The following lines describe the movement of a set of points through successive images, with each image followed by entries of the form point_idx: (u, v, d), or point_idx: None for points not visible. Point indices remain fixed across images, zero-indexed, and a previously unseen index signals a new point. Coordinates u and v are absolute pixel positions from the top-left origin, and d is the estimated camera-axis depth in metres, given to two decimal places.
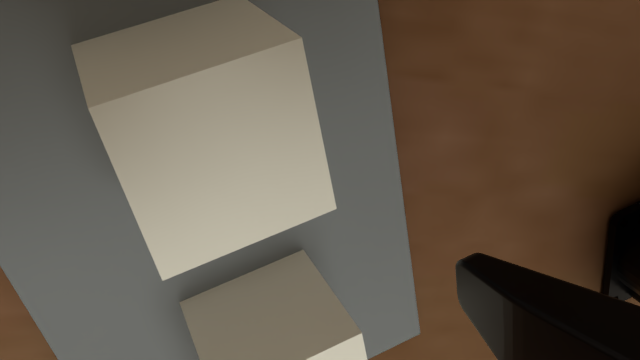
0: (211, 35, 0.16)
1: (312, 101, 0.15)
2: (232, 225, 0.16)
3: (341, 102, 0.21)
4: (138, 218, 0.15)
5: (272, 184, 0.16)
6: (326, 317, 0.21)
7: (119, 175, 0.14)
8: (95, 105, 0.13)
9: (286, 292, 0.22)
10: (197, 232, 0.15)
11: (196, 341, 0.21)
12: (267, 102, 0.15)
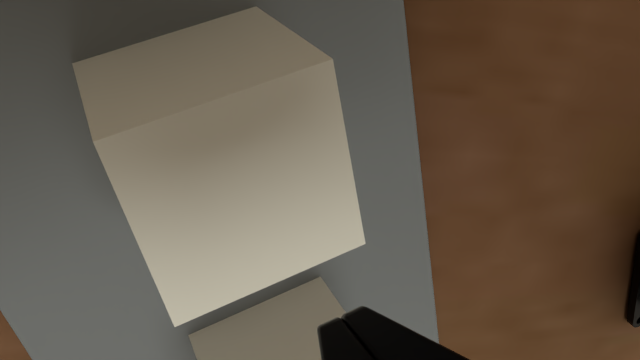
0: (228, 54, 0.14)
1: (343, 128, 0.14)
2: (252, 265, 0.14)
3: (363, 121, 0.20)
4: (148, 261, 0.13)
5: (296, 220, 0.14)
6: None
7: (127, 214, 0.12)
8: (100, 138, 0.11)
9: (303, 325, 0.20)
10: (213, 274, 0.14)
11: None
12: (293, 131, 0.13)
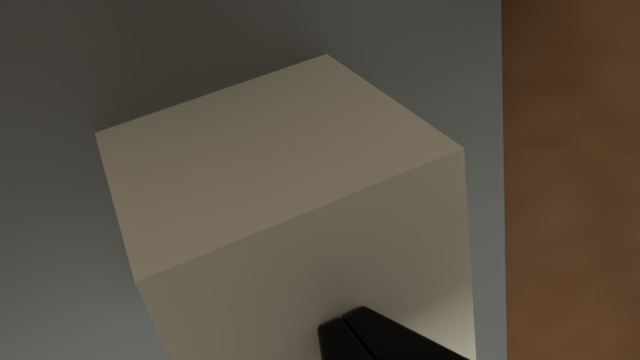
0: (307, 131, 0.10)
1: (466, 235, 0.10)
2: None
3: None
4: None
5: None
6: None
7: None
8: (145, 276, 0.08)
9: None
10: None
11: None
12: (404, 243, 0.09)
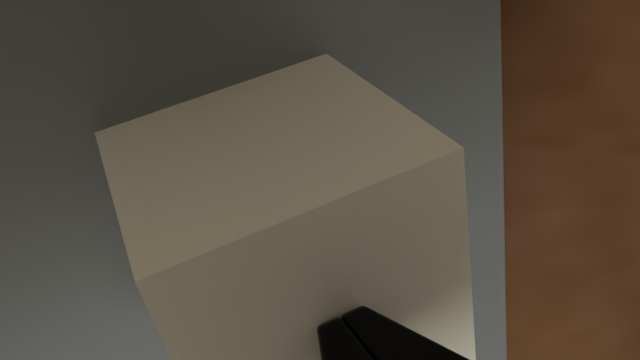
0: (307, 131, 0.10)
1: (465, 234, 0.10)
2: None
3: None
4: None
5: None
6: None
7: None
8: (146, 275, 0.08)
9: None
10: None
11: None
12: (403, 242, 0.09)
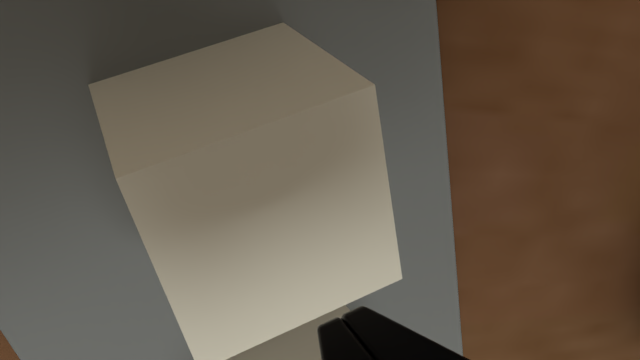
0: (258, 77, 0.13)
1: (383, 158, 0.12)
2: (282, 304, 0.13)
3: (392, 141, 0.19)
4: (173, 303, 0.12)
5: (330, 256, 0.13)
6: None
7: (151, 255, 0.11)
8: (123, 174, 0.10)
9: None
10: (242, 314, 0.13)
11: None
12: (330, 162, 0.12)
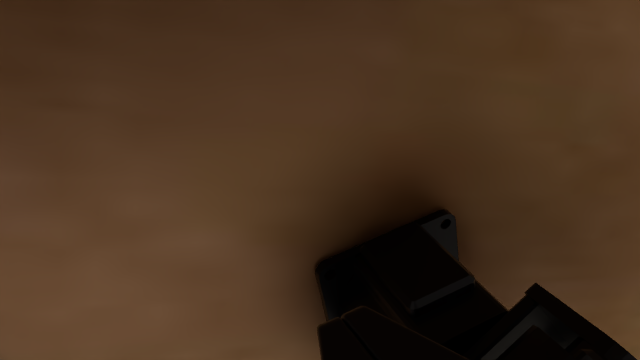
0: None
1: None
2: None
3: None
4: None
5: None
6: None
7: None
8: None
9: None
10: None
11: None
12: None
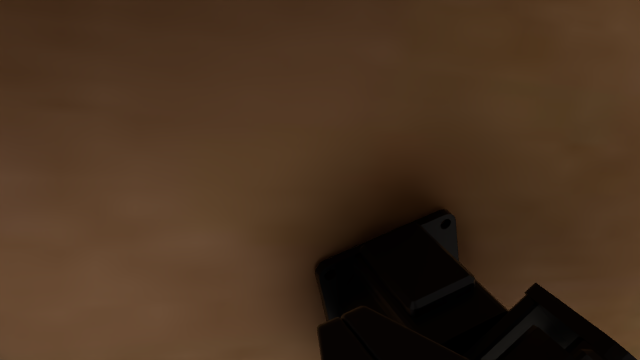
0: None
1: None
2: None
3: None
4: None
5: None
6: None
7: None
8: None
9: None
10: None
11: None
12: None
